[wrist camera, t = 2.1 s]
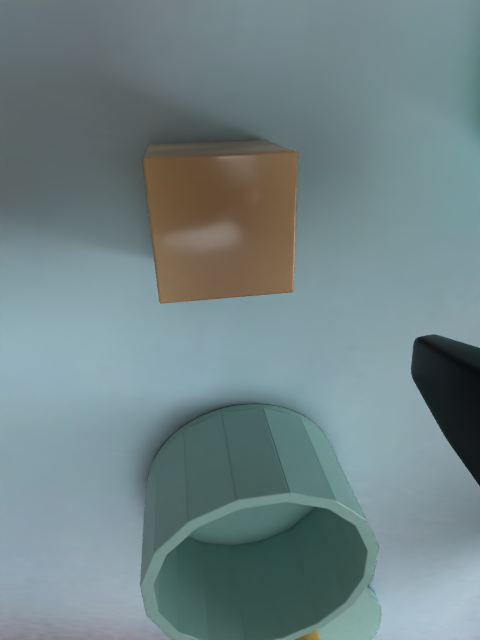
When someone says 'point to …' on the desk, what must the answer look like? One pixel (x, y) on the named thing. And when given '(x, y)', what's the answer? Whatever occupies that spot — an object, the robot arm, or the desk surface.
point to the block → (222, 218)
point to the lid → (352, 621)
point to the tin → (251, 529)
